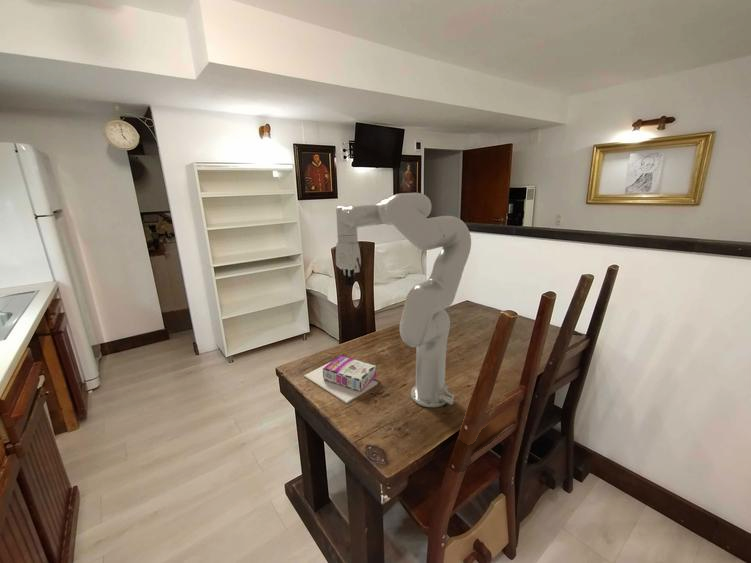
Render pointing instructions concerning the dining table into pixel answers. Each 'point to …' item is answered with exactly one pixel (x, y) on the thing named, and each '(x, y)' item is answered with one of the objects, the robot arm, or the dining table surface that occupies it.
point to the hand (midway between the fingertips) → (349, 284)
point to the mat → (336, 386)
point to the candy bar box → (349, 373)
